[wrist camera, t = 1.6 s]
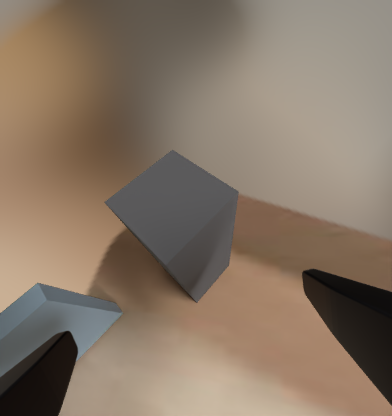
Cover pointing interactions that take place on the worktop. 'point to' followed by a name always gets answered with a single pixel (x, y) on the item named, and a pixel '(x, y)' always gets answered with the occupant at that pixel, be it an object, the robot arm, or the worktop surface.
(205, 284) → the block
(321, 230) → the worktop surface
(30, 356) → the robot arm
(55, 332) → the door
